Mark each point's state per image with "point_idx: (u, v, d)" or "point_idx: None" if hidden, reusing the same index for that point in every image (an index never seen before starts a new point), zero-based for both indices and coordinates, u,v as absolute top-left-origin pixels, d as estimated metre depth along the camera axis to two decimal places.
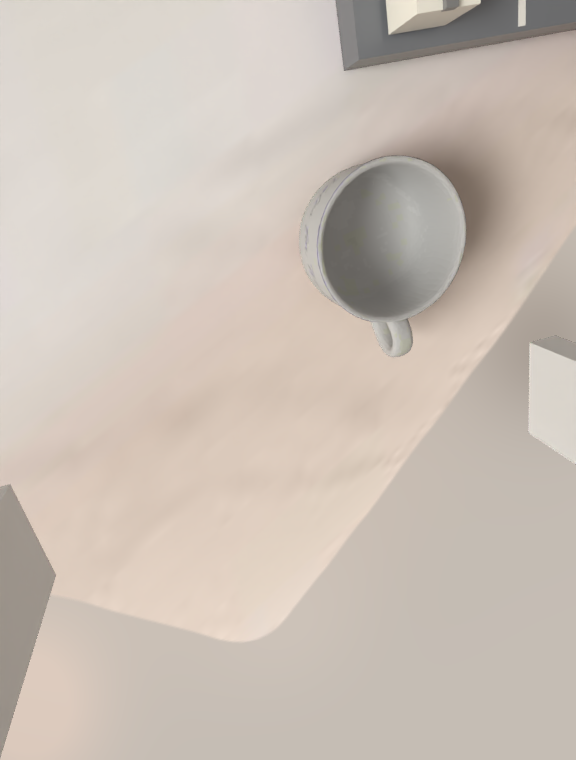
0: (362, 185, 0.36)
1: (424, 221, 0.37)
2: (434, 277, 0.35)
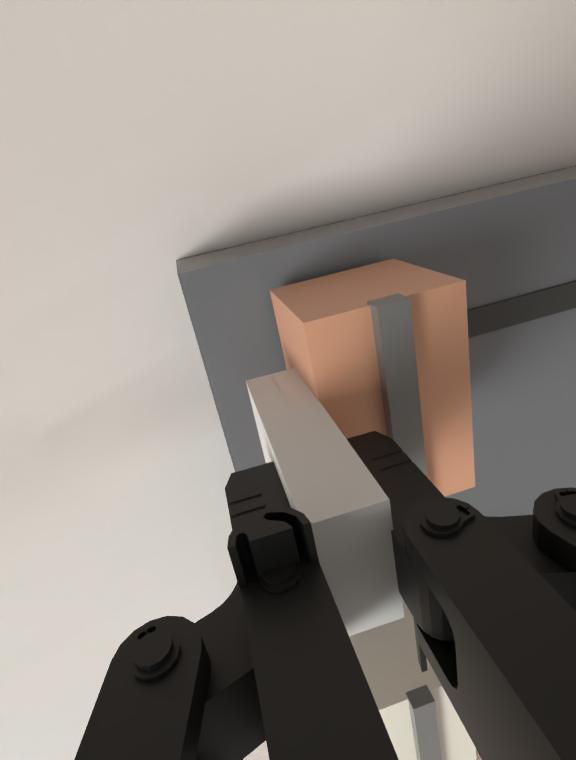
0: None
1: None
2: None
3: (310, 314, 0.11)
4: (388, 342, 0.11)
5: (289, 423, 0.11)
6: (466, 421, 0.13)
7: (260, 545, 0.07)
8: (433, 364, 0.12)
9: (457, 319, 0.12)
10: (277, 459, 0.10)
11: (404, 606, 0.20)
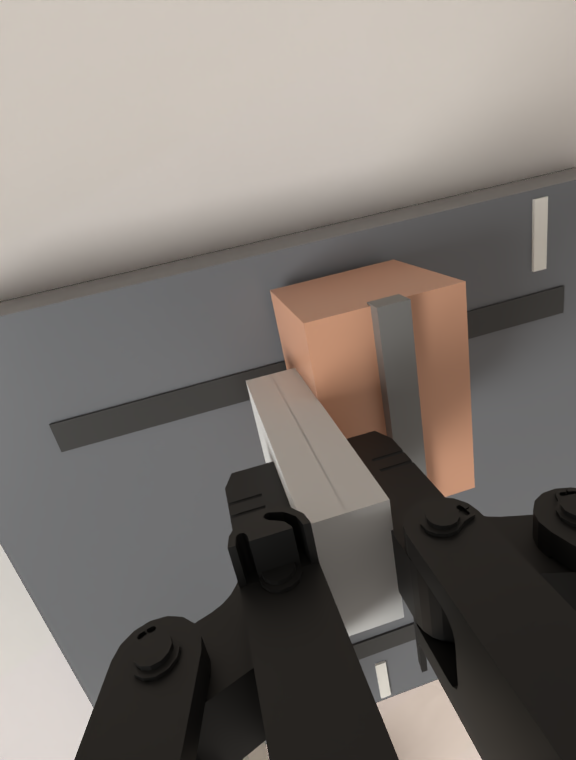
0: None
1: None
2: None
3: (310, 314, 0.11)
4: (388, 342, 0.11)
5: (289, 423, 0.11)
6: (466, 422, 0.13)
7: (260, 545, 0.07)
8: (433, 365, 0.12)
9: (457, 320, 0.12)
10: (277, 459, 0.10)
11: None
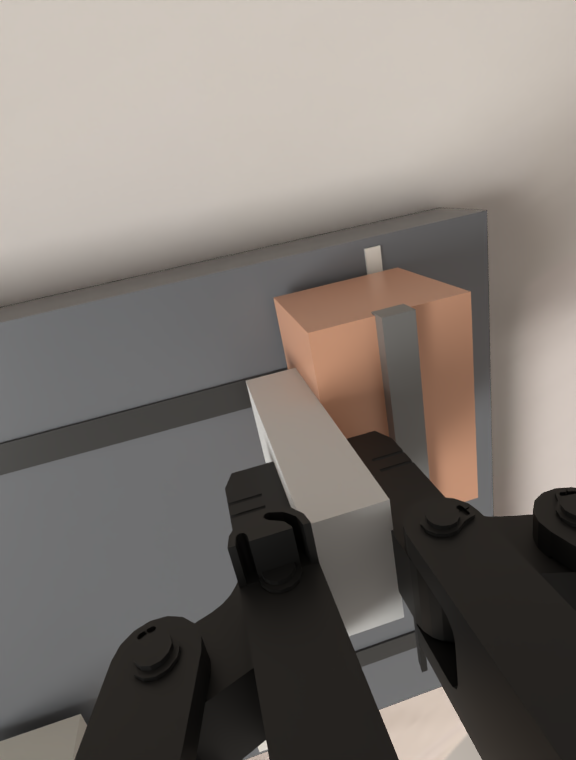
0: None
1: None
2: None
3: (314, 324, 0.11)
4: (392, 352, 0.11)
5: (289, 423, 0.11)
6: (470, 432, 0.13)
7: (260, 545, 0.07)
8: (438, 375, 0.12)
9: (462, 330, 0.12)
10: (277, 459, 0.10)
11: (53, 737, 0.18)
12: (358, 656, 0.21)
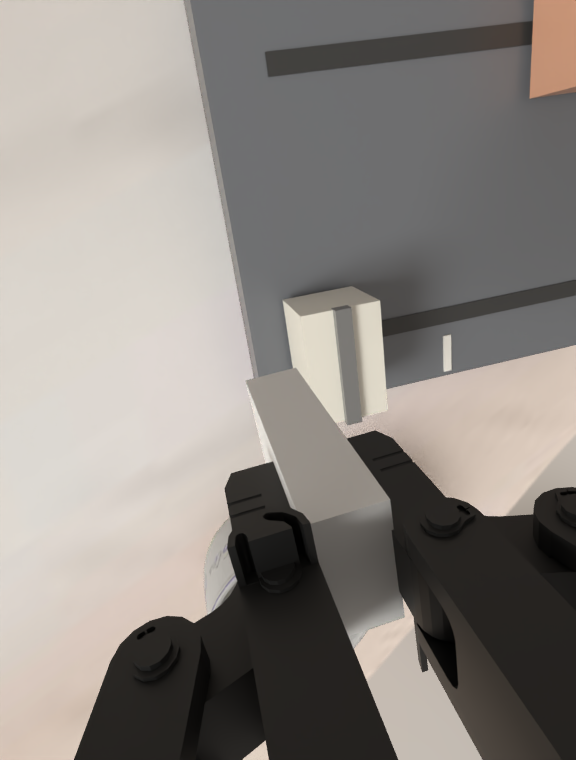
0: None
1: None
2: None
3: None
4: None
5: (289, 423, 0.11)
6: None
7: (260, 545, 0.07)
8: None
9: None
10: (277, 459, 0.10)
11: (340, 290, 0.26)
12: (523, 295, 0.30)
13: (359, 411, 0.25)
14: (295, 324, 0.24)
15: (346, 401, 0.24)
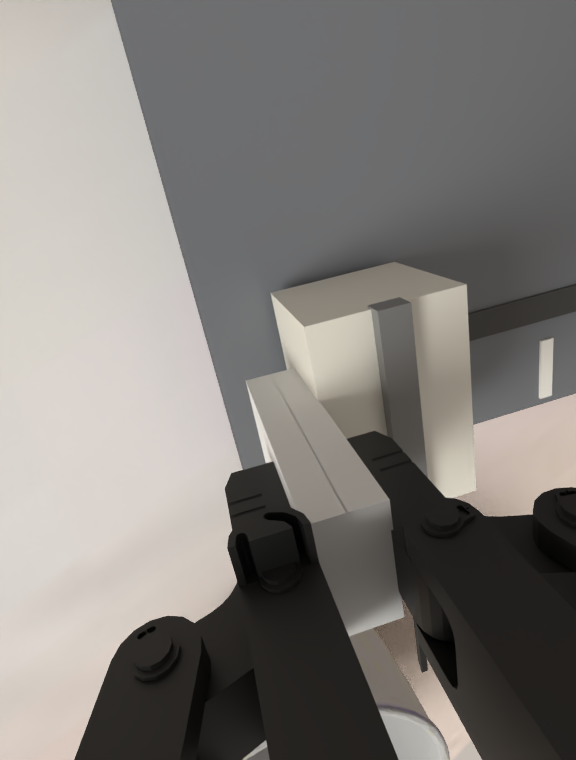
0: None
1: None
2: None
3: None
4: None
5: (289, 423, 0.11)
6: None
7: (260, 545, 0.07)
8: None
9: None
10: (277, 459, 0.10)
11: (375, 270, 0.14)
12: None
13: None
14: (295, 340, 0.12)
15: None
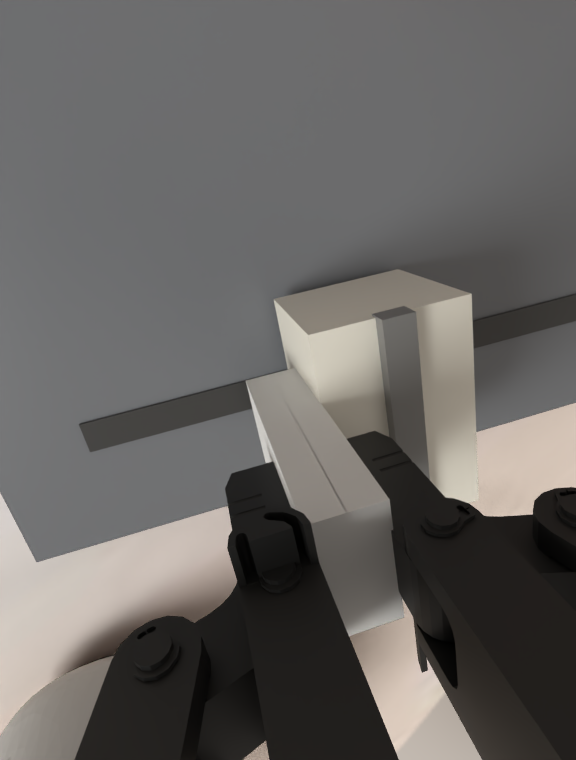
0: None
1: None
2: None
3: None
4: None
5: (289, 423, 0.11)
6: None
7: (260, 545, 0.07)
8: None
9: None
10: (277, 459, 0.10)
11: (378, 278, 0.14)
12: (494, 323, 0.17)
13: None
14: (298, 347, 0.12)
15: None
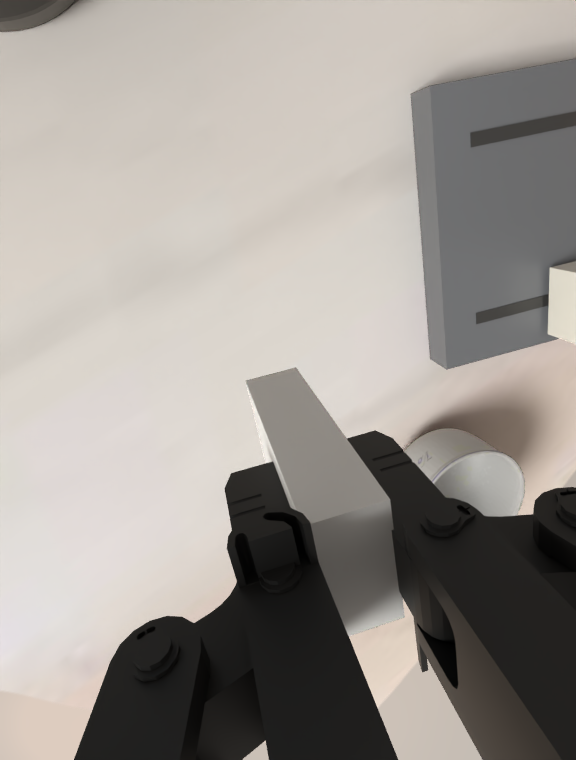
0: None
1: (488, 462, 0.47)
2: (497, 512, 0.46)
3: None
4: None
5: (289, 423, 0.11)
6: None
7: (260, 545, 0.07)
8: None
9: None
10: (277, 459, 0.10)
11: None
12: None
13: None
14: (572, 281, 0.39)
15: None
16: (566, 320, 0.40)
